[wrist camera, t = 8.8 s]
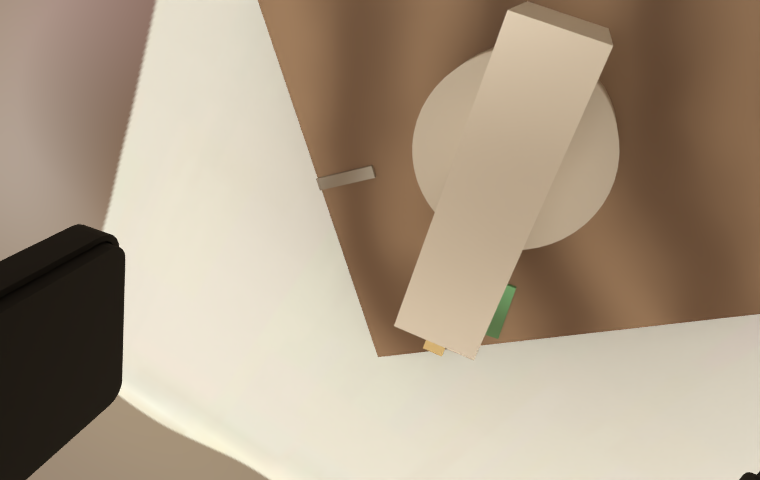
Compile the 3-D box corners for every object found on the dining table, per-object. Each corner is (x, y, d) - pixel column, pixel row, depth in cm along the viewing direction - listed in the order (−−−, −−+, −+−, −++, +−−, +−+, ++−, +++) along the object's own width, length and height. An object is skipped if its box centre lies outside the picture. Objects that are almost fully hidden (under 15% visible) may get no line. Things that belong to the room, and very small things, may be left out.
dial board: (739, -208, 23) (749, -221, 21) (797, 292, 28) (808, 310, 27) (264, -25, 30) (247, -24, 29) (386, 342, 36) (377, 358, 34)
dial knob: (475, -22, 26) (423, -19, 18) (669, 43, 25) (705, 76, 17) (367, 306, 33) (296, 411, 25) (512, 368, 32) (486, 498, 24)
